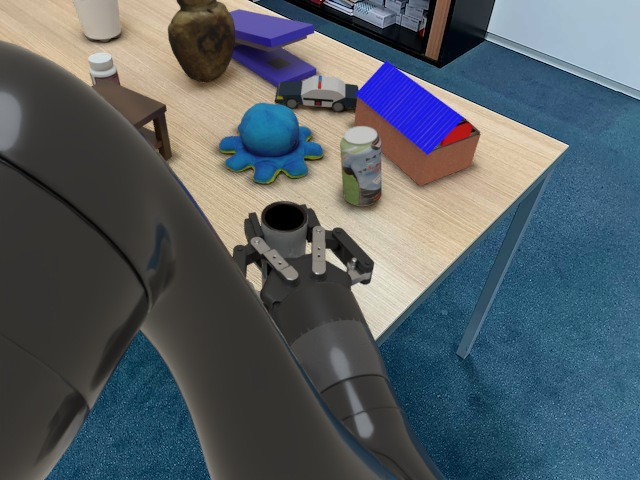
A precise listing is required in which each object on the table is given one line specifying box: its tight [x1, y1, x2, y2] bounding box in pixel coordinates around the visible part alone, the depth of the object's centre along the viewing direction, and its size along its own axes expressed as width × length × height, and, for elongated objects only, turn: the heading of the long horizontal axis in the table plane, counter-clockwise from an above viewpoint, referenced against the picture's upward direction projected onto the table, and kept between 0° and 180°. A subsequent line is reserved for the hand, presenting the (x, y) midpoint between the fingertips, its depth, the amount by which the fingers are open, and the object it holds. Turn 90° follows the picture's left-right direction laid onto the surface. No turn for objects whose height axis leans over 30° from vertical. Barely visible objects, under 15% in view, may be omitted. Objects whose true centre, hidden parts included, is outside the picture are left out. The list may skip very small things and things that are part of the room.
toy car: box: [274, 74, 360, 113], centre depth 104 cm, size 5×16×5 cm, turn 88°
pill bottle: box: [87, 51, 121, 86], centre depth 99 cm, size 5×5×8 cm
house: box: [353, 60, 482, 187], centre depth 93 cm, size 12×20×12 cm, turn 32°
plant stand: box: [90, 79, 173, 162], centre depth 86 cm, size 13×13×10 cm
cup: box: [71, 0, 122, 43], centre depth 115 cm, size 10×10×13 cm
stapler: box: [229, 8, 318, 88], centre depth 114 cm, size 12×28×10 cm, turn 43°
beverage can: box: [339, 126, 383, 207], centre depth 83 cm, size 6×7×12 cm
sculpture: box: [167, 0, 235, 83], centre depth 102 cm, size 13×8×20 cm, turn 123°
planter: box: [260, 200, 308, 288], centre depth 56 cm, size 4×4×10 cm
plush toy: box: [218, 102, 324, 184], centre depth 91 cm, size 17×17×8 cm
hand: (276, 215), depth 56 cm, fingers closed on planter, 4 cm apart
